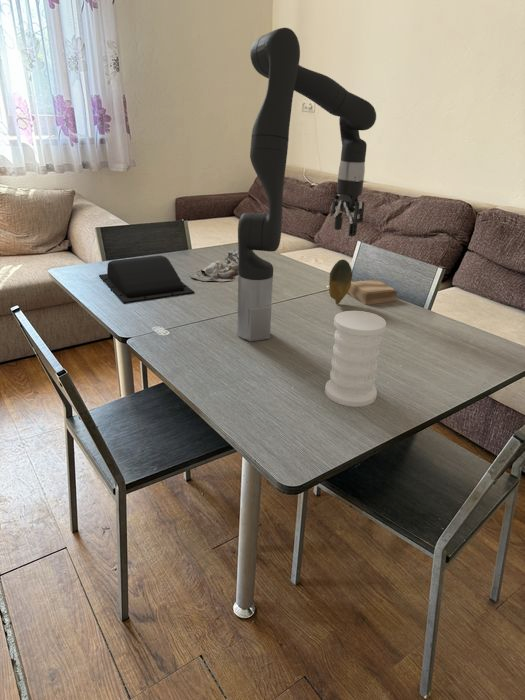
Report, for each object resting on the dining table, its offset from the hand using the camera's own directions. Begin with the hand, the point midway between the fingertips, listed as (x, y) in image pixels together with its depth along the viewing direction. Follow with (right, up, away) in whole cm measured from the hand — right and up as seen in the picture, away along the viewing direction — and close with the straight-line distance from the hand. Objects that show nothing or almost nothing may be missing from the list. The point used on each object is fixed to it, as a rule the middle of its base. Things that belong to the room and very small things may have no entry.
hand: (344, 232), depth 157 cm
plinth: (+12, -18, +18) cm, 28 cm away
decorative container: (-5, -46, -41) cm, 62 cm away
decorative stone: (-1, -21, +10) cm, 24 cm away
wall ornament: (-39, -8, +36) cm, 53 cm away
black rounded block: (-66, -14, +20) cm, 71 cm away
